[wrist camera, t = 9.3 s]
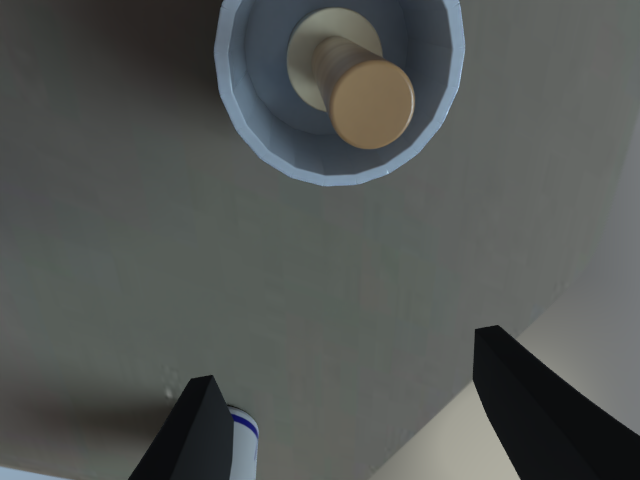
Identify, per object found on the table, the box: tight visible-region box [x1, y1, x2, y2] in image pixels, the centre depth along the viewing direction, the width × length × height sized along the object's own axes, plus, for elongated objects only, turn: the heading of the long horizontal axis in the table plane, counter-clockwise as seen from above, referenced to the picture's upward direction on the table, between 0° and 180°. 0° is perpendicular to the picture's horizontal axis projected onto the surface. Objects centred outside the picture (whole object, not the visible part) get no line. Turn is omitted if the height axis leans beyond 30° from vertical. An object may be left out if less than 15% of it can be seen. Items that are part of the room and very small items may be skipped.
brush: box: [287, 7, 415, 149], centre depth 11 cm, size 3×3×10 cm
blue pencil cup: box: [214, 0, 465, 186], centre depth 14 cm, size 7×7×6 cm
